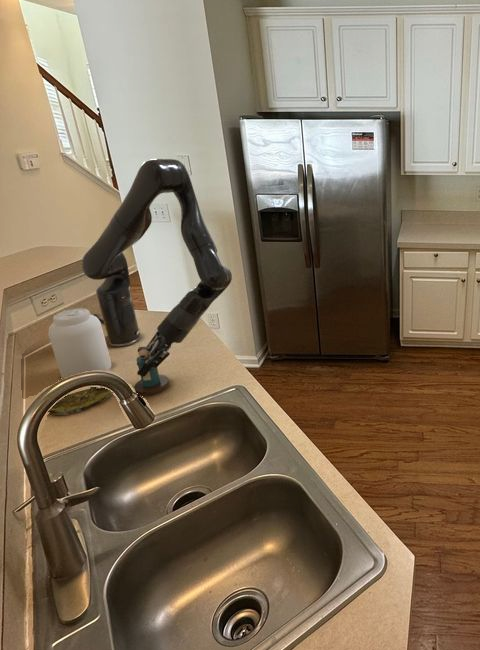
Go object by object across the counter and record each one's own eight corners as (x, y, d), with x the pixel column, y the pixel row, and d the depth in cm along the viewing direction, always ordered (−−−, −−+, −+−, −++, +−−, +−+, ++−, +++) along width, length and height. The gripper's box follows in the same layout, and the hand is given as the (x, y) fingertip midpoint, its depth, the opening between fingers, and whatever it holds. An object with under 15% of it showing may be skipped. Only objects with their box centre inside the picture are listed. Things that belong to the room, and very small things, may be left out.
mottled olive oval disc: (49, 425, 110) (117, 401, 119) (44, 412, 108) (113, 388, 117) (45, 405, 116) (110, 383, 125) (40, 391, 114) (106, 371, 123)
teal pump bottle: (145, 379, 126) (137, 345, 122) (162, 377, 127) (154, 344, 122) (140, 388, 122) (131, 353, 117) (157, 386, 122) (149, 352, 118)
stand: (131, 387, 124) (130, 382, 124) (162, 375, 130) (162, 371, 130) (141, 400, 119) (140, 395, 118) (173, 387, 125) (172, 383, 124)
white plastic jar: (106, 357, 139) (91, 300, 132) (117, 372, 131) (101, 313, 124) (59, 371, 131) (40, 312, 124) (66, 389, 123) (46, 327, 116)
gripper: (165, 307, 126) (126, 353, 125) (169, 326, 115) (126, 377, 113) (188, 319, 131) (151, 364, 129) (194, 338, 119) (153, 388, 118)
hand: (140, 370), depth 121 cm, fingers closed on teal pump bottle, 4 cm apart
